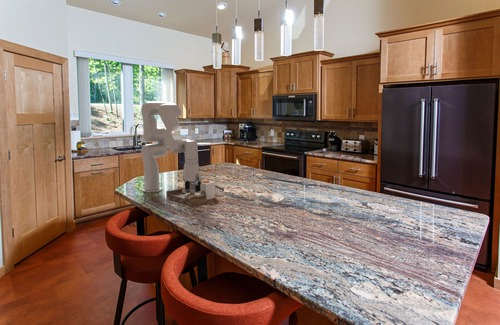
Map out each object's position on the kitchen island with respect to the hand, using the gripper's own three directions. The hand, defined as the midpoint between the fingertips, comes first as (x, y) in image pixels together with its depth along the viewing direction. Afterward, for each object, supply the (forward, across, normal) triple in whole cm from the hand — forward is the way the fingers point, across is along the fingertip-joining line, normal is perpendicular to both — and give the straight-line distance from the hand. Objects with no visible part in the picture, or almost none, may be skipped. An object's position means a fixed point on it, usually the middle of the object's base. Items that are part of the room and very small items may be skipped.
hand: (192, 190), depth 193 cm
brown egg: (0, -1, +11) cm, 11 cm away
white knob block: (+7, -1, +11) cm, 13 cm away
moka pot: (+7, -20, +16) cm, 26 cm away
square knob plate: (+5, 0, 0) cm, 5 cm away
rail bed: (+7, -6, 0) cm, 10 cm away
